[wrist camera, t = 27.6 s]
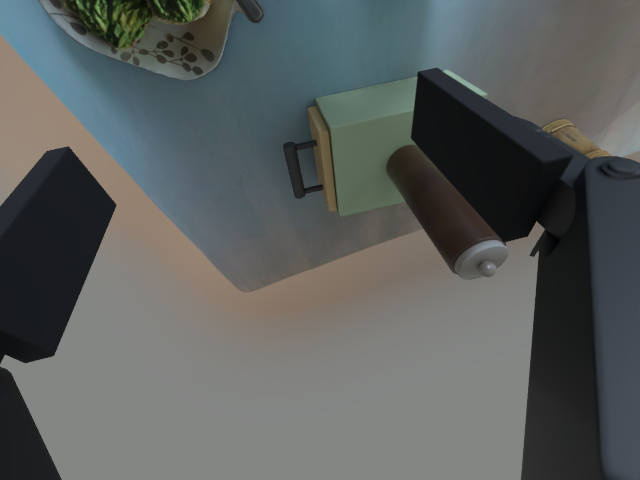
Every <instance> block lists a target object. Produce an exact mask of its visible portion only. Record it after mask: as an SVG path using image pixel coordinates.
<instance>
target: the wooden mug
mask: <svg viewBox="0 0 640 480" xmlns="http://www.w3.org/2000/svg"><path fill="white" fill-rule="evenodd" d="M542 129H543V131H546V132H548V133H550V134H551V135H553V138H555V137H556V138H558V139H559V140H561V141H563V142H564V143H566V144H568V145H569V146H571V147H572V148H574V149H576V150H577V151H579V152H580V153H582V154H584V155H585V156H587V157H589V158H590V159H592V158H594V157H601V156H611V155H610V154H609V153H608V152H607V151H605V150H601V149H600V148H599V147H597V146H596V145H595V144H594V143H593V142H591V141H590V140H589V139H588V138H587V137H586V136H584V135H583V134H582V133H581V132H580V131H579V130H578V129H577V127H576V126H575V125H574V124H573V123H572V122H570V121H569V120H566V119H560V120H556V121H554V122H551V123H549V124H548V125H546V126H545V127H543V128H542Z"/></svg>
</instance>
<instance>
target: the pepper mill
mask: <svg viewBox="0 0 640 480" xmlns="http://www.w3.org/2000/svg"><path fill="white" fill-rule="evenodd" d="M386 171H387V174H388V176H389V177H390V179H391V180H392V182H393V183H394V185H395V186H396V188H397V189H398V191H399V192H400V194H401V195H402V197H403V199H404V200H405V202H406V203H407V205H408V206H409V208H410V209H411V211H412V212H413V214H414V215H415V217H416V218H417V220H418V221H419V223H420V224H421V226H422V227H423V229H424V230H425V232H426V233H427V235H428V236H429V238H430V239H431V241H432V242H433V244H434V245H435V247H436V248H437V250H438V251H439V253H440V254H441V256H442V257H443V259H444V260H445V262H446V263H447V265H448V266H449V268H450V269H451V271H452V272H453V273H455V274H458V275H459V276H460V277H461V278H462V279H466V280H471V279H477V278H480V277H483V276H484V277H491V276H493V275H494V274H495V273H496V269H497V268H498V267H499V266H500V265H502V264H503V263H504V261H505V260H506V258H507V256H508V249H507V248H506V242H503V241H502V240H501V239H500V238H499V237H498V235H497V234H496V233H495V232H494V231H493V230H492V229H491V228H490V226H489V225H488V224H487V223H486V222H485V221H484V220H483V219H482V218H481V216H480V215H479V214H478V213H477V212H476V211H475V210H474V209H473V207H472V206H471V205H470V204H469V203H468V202H467V201H466V200H465V199H464V197H463V196H462V195H461V194H460V193H459V192H458V191H457V190H456V188H455V187H454V186H453V185H452V184H451V183H450V182H449V181H448V180H447V178H446V177H445V176H444V175H443V174H442V173H441V172H440V171H439V169H438V168H437V167H436V166H435V165H434V164H433V163H432V162H431V161H430V159H429V158H428V157H427V156H426V155H425V154H424V153H423V152H422V150H421V149H420V148H419V147H418V146H417V145H406V146H403V147H401V148H399V149H398V150H396V151H395V152H394V153H393V154H392V155H391V157H390V158H389V160H388V162H387V166H386Z"/></svg>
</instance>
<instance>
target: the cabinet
mask: <svg viewBox="0 0 640 480" xmlns="http://www.w3.org/2000/svg"><path fill="white" fill-rule="evenodd" d="M443 72H444V73H446V74H448V75H449V76H451V77H452V78H454V79H455V80H457V81H459V82H460V83H462V84H463V85H465V86H466V87H468V88H470V89H471V90H473V91H474V92H476V93H477V94H479V95H480V96H482V97H484V98H485V99H486V98H487V95H488V94H487V93H485V92H483V91H482V90H480V89H479V88H477V87H475V86H474V85H472V84H470V83H469V82H467V81H466V80H464V79H462V78H461V77H459V76H457V75H456V74H454V73H453V72H451V71H449V70H444V71H443ZM416 85H417V76H416V77H411V78H407V79H402V80H397V81H393V82H388V83H383V84H379V85H374V86H369V87H365V88H360V89H355V90H351V91H346V92H341V93H337V94H332V95H327V96H323V97H318V98H315V104H316V107H317V109H318V111H319V113H320V115H321V117H322V119H323V121H324V123H325V125H326V127H327V128H328V130H329V131H330V136H329V139H330V137H331V145H330V148H331V147H332V155H331V158H332V157H333V165H332V167H333V166H334V174H333V177H334V176H335V179H334V186H335V196H336V205H337V212H338V214H339V217H344V216H349V215H353V214H357V213H361V212H365V211H369V210H374V209H378V208H382V207H386V206H390V205H395V204H399V203H403V202H405V200H404V199H403V197H402V195H401V194H400V192H399V191H398V189H397V188H396V186H395V185H394V183H393V182H392V180H391V179H390V177H389V176H388V174H387V171H386V166H387V162H388V160H389V158H390V157H391V155H392V154H393V153H394V152H395V151H396V150H398V149H399V148H401V147H403V146H406V145H416V144H415V143H414V142H413V140H412V139H411V130H412V121H413V112H414V103H415V94H416Z"/></svg>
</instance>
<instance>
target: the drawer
mask: <svg viewBox="0 0 640 480" xmlns="http://www.w3.org/2000/svg"><path fill="white" fill-rule="evenodd" d="M307 109H308V116H309V123H310V129H311V136H312V141H308V142H303V143H299V144H295V143H294V142H288V143H285V144H284V145H283V149H284V153H285V157H286V162H287V166H288V170H289V174H290V179H291V183H292V187H293V192H294V196H295V197H296V198H303V197H304V196H305V194H307V193H311V192H315V191H320V190H321V191H322V194H323V197H324V199H325V202H326V205H327V208H328V210H329V212H334V211H337V205H336V196H335V186H334V179H335V176H334V177H333V174H334V166H333V167H332V165H333V157H332V158H331V155H332V147H331V148H330V145H331V137H330V139H329V136H330V131H329V130H328V128H327V127H326V125H325V123H324V121H323V119H322V117H321V115H320V113H319V111H318V109H317V107H316V106H312V107H308V108H307ZM309 147H313V149H314V155H315V162H316V168H317V175H318V182H319V185H317V186H312V187H308V188H304V184H303V179H302V174H301V169H300V164H299V159H298V154H297V150H301V149H305V148H309Z"/></svg>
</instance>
